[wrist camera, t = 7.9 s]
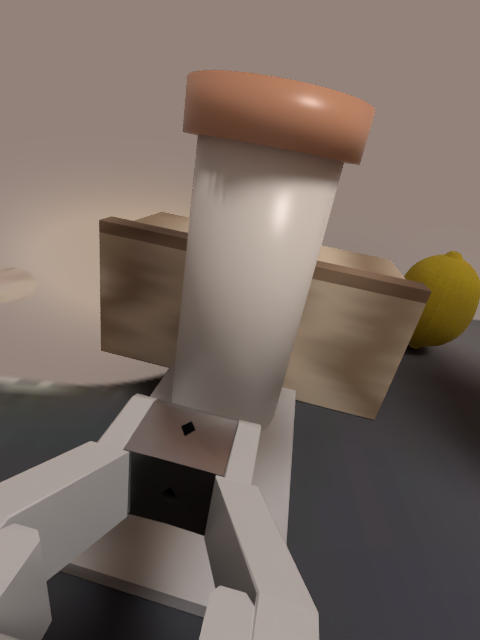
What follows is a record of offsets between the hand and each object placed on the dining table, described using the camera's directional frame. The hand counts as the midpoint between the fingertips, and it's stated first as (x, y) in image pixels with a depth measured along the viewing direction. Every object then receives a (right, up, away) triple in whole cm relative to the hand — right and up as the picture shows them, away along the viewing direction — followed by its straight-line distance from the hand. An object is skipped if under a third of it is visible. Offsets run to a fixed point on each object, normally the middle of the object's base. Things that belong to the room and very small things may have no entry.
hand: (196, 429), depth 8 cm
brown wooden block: (0, -2, +10) cm, 10 cm away
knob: (0, -2, +9) cm, 9 cm away
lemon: (+15, 0, +20) cm, 25 cm away
